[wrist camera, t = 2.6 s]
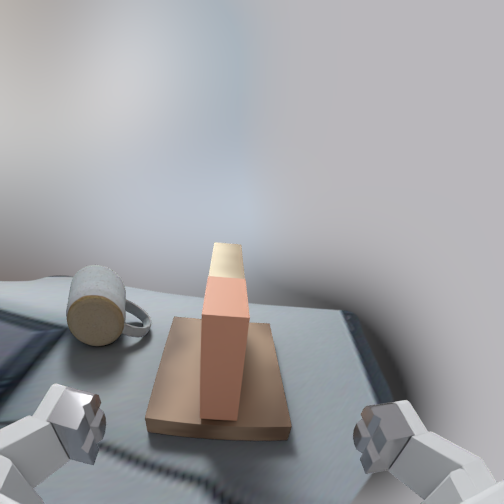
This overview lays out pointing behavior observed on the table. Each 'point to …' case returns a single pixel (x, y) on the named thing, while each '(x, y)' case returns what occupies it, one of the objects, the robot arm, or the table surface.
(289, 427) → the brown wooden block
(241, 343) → the block
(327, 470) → the table surface
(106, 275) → the ceramic mug
